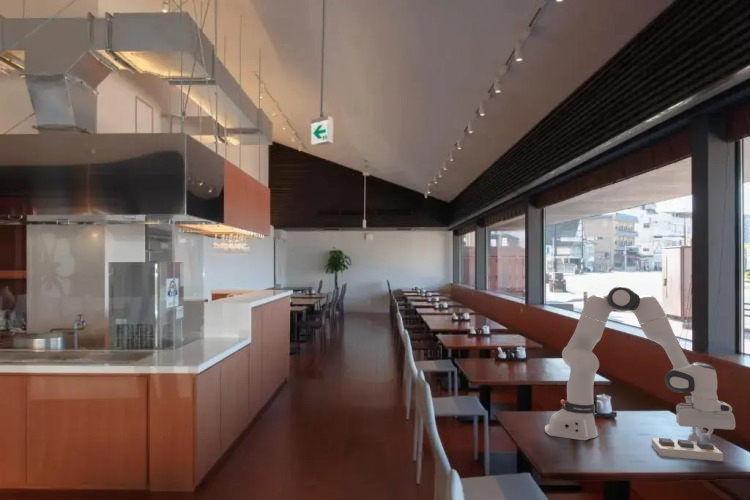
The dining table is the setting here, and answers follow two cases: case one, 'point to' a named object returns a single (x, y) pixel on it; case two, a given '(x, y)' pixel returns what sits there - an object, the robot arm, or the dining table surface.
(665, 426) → the dining table surface
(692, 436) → the chalice
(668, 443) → the button left
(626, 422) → the dining table surface
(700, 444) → the button right
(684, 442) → the button middle
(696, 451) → the panel
